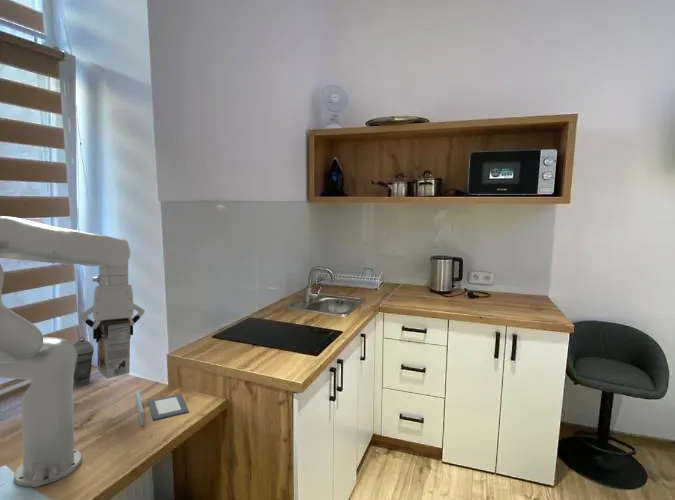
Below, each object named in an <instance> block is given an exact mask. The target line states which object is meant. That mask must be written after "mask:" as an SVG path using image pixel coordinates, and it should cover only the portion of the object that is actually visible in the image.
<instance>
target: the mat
mask: <svg viewBox="0 0 675 500" xmlns="http://www.w3.org/2000/svg"><path fill="white" fill-rule="evenodd" d="M147 403H148V407H149V410H150V414H151V417H152V421H158V420H162V419H167V418H170V417H174V416H178V415H179V416H180V415H183V414H187V413H189V408H188V406H187V404H186V402H185V399H184V398H183V396H182V393H177V394H173V395H169V396H168V395H167V396H163V397H158V398H154V399H150V400H147Z"/></svg>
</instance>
